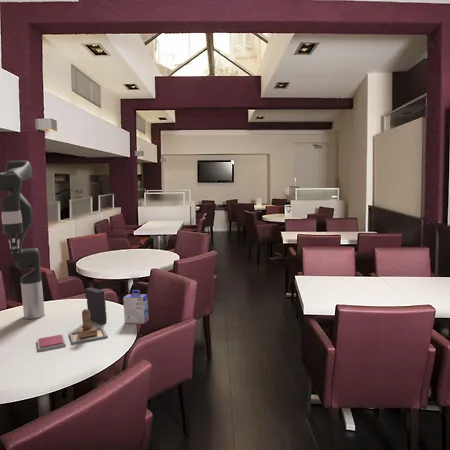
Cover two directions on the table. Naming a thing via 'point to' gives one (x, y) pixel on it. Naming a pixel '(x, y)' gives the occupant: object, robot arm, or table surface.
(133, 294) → the ink cartridge box
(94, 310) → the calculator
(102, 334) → the grey flat frame
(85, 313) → the wooden stamp
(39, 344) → the ink pad
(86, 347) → the table surface
